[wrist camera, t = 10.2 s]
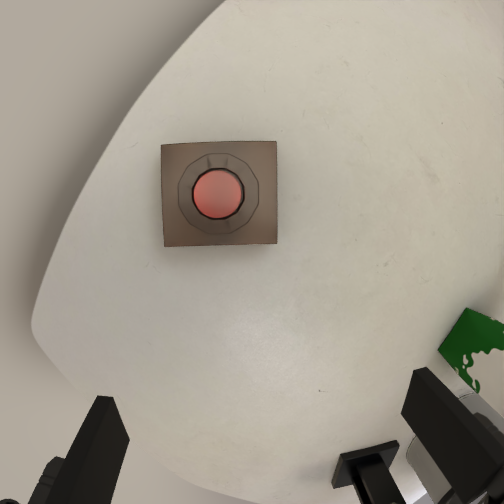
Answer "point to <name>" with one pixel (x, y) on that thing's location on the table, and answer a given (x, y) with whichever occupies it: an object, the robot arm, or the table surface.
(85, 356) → the table surface
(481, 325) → the milk carton
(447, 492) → the container
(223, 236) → the control block
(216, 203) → the red push button
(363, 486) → the black lever switch
